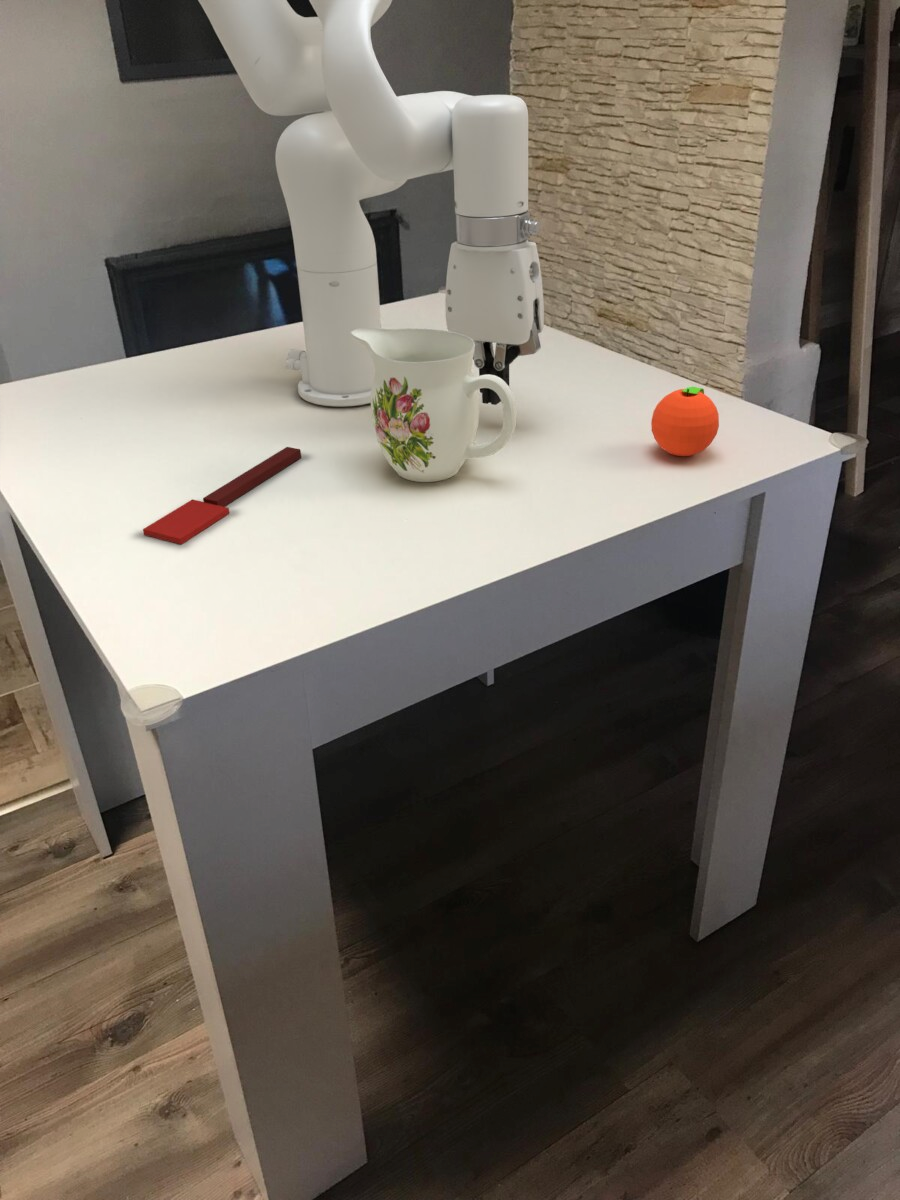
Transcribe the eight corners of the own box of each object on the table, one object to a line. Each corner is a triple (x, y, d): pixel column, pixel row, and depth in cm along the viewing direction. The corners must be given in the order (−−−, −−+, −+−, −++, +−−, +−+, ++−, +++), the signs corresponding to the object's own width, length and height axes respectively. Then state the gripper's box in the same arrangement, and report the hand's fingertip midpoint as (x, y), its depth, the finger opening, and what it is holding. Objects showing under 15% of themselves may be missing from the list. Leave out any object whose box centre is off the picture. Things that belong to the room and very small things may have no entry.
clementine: (669, 433, 107) (675, 371, 103) (729, 445, 104) (737, 382, 100) (637, 457, 102) (642, 393, 98) (699, 472, 98) (707, 405, 94)
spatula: (143, 534, 90) (141, 525, 90) (277, 452, 106) (276, 444, 105) (181, 544, 88) (179, 535, 88) (312, 459, 104) (311, 451, 103)
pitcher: (491, 507, 93) (490, 369, 86) (335, 476, 100) (322, 346, 93) (536, 464, 101) (538, 334, 94) (388, 438, 108) (380, 316, 101)
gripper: (572, 226, 99) (568, 397, 109) (444, 220, 105) (451, 382, 115) (544, 241, 93) (542, 420, 103) (411, 233, 100) (421, 403, 109)
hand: (494, 400), depth 109 cm, fingers closed
